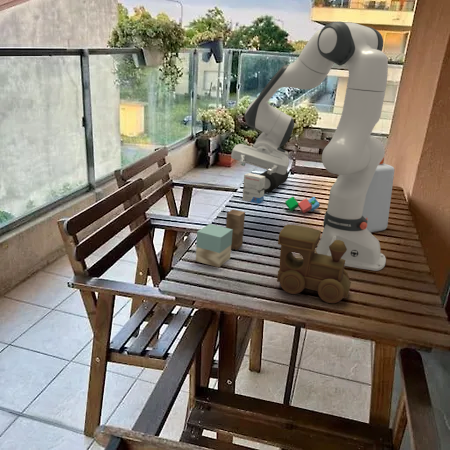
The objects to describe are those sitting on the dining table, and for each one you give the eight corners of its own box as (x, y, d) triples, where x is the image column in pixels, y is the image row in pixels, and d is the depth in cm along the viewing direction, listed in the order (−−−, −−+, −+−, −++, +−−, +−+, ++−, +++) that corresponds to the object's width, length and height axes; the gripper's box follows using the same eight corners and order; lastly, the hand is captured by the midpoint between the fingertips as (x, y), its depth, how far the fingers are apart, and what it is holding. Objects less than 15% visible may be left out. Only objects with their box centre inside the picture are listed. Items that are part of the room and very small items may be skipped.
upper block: (231, 244, 139) (232, 229, 137) (219, 253, 132) (220, 237, 130) (209, 238, 142) (209, 223, 140) (196, 246, 135) (197, 231, 133)
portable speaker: (270, 181, 234) (272, 162, 230) (288, 184, 230) (290, 165, 227) (253, 192, 212) (255, 172, 208) (272, 196, 208) (275, 175, 205)
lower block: (230, 258, 141) (231, 244, 139) (218, 268, 134) (219, 252, 132) (207, 252, 144) (208, 238, 142) (195, 261, 137) (196, 246, 135)
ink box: (263, 201, 199) (266, 175, 195) (258, 204, 195) (261, 178, 191) (247, 197, 203) (249, 172, 199) (241, 199, 199) (243, 174, 195)
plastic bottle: (335, 221, 180) (346, 153, 170) (363, 217, 187) (375, 151, 177) (362, 235, 168) (376, 161, 158) (391, 230, 174) (406, 160, 165)
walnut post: (242, 245, 150) (245, 212, 146) (236, 250, 147) (239, 215, 142) (230, 242, 152) (232, 209, 148) (224, 247, 148) (226, 213, 144)
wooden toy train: (270, 291, 122) (277, 234, 116) (281, 274, 132) (287, 221, 126) (344, 309, 116) (355, 250, 110) (350, 290, 126) (360, 235, 120)
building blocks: (296, 221, 191) (320, 206, 191) (295, 215, 183) (319, 199, 183) (286, 207, 194) (309, 192, 193) (284, 201, 186) (308, 185, 186)
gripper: (238, 136, 160) (228, 150, 149) (292, 153, 158) (287, 168, 147) (234, 152, 164) (224, 166, 152) (287, 168, 162) (282, 185, 150)
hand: (256, 167), depth 149 cm, fingers open, 8 cm apart
